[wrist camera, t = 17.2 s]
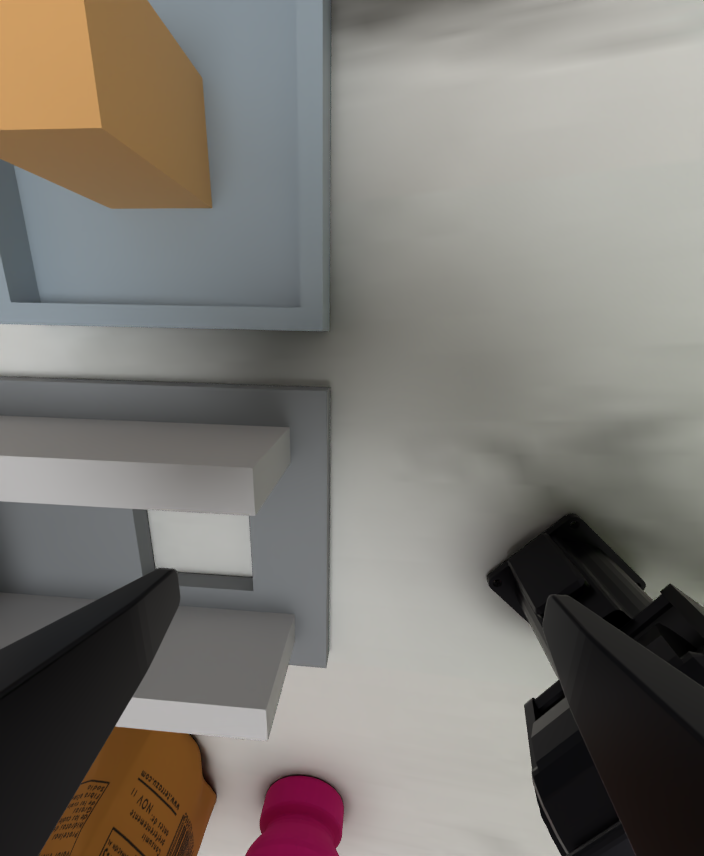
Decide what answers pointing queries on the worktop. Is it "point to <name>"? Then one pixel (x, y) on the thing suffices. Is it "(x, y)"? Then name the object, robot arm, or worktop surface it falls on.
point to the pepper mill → (299, 819)
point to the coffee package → (137, 799)
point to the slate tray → (230, 190)
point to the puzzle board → (126, 531)
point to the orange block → (102, 103)
